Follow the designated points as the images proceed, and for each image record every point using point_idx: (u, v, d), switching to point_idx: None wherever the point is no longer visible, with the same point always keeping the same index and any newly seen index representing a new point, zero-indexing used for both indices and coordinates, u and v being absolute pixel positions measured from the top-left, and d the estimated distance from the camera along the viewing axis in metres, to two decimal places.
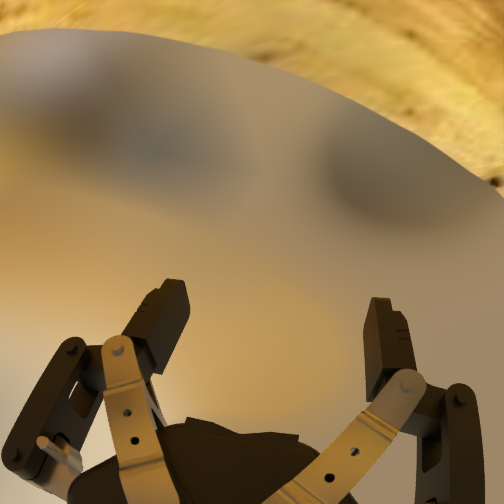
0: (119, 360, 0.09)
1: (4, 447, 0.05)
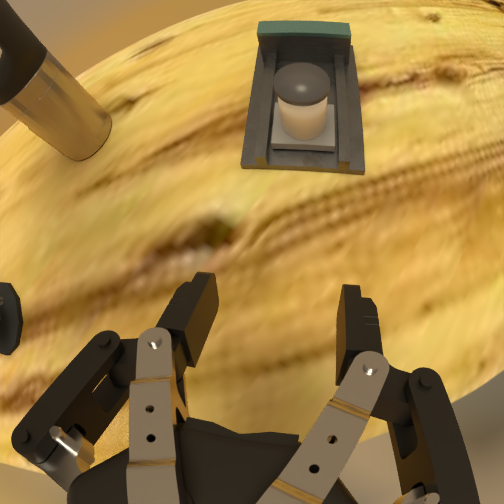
0: (154, 354, 0.09)
1: (16, 428, 0.06)
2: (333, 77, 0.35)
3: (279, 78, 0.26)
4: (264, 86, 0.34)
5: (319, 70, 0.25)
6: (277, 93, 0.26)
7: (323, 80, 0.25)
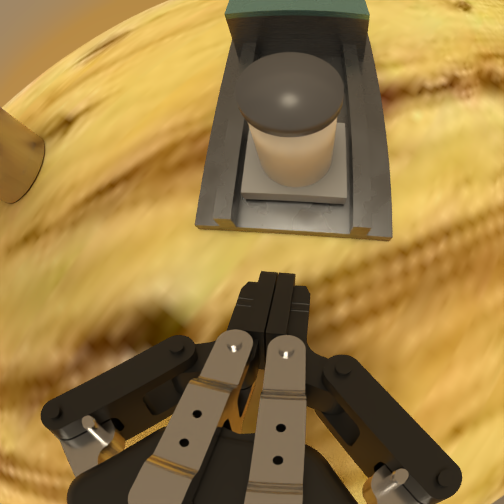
0: (228, 357, 0.09)
1: (51, 401, 0.07)
2: (342, 78, 0.23)
3: (247, 82, 0.14)
4: (234, 94, 0.22)
5: (323, 65, 0.13)
6: (242, 112, 0.14)
7: (331, 84, 0.13)
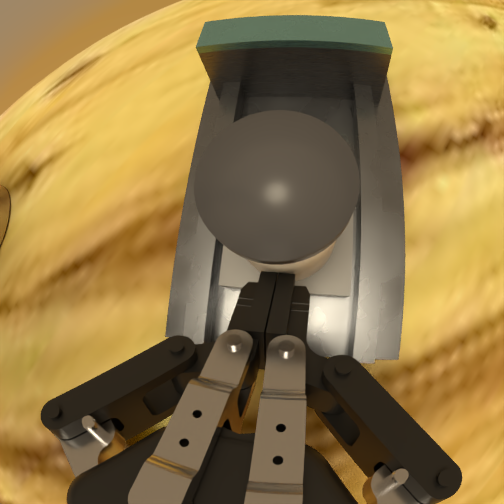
0: (228, 357, 0.09)
1: (51, 401, 0.07)
2: (351, 132, 0.19)
3: (212, 168, 0.10)
4: None
5: (329, 137, 0.10)
6: None
7: (340, 175, 0.09)
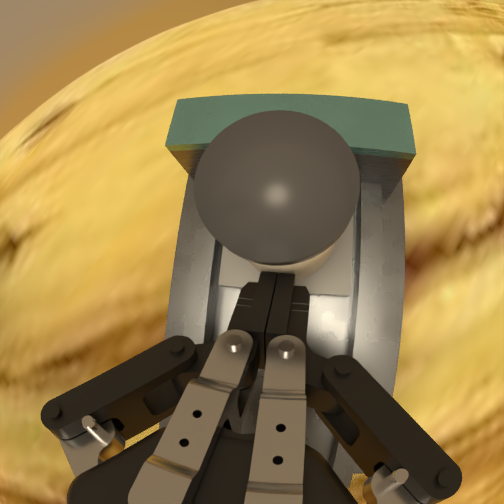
0: (228, 358, 0.09)
1: (51, 401, 0.07)
2: (353, 243, 0.17)
3: (212, 168, 0.10)
4: (190, 292, 0.16)
5: (329, 137, 0.10)
6: None
7: (340, 176, 0.09)
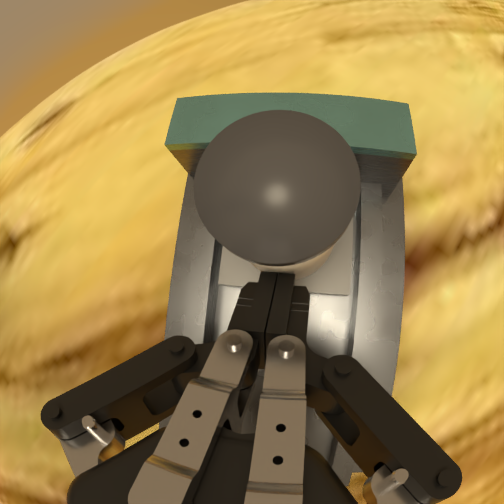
0: (228, 357, 0.09)
1: (51, 401, 0.07)
2: None
3: (212, 169, 0.10)
4: (189, 292, 0.16)
5: (330, 137, 0.09)
6: None
7: (341, 176, 0.09)
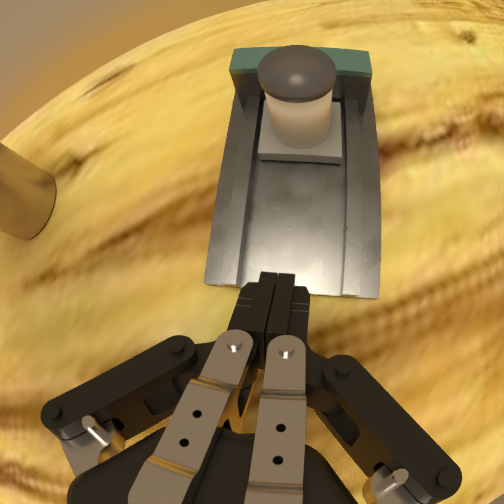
0: (228, 357, 0.09)
1: (51, 401, 0.07)
2: (342, 135, 0.26)
3: (266, 65, 0.18)
4: (239, 156, 0.25)
5: (321, 54, 0.18)
6: (262, 85, 0.18)
7: (327, 67, 0.18)
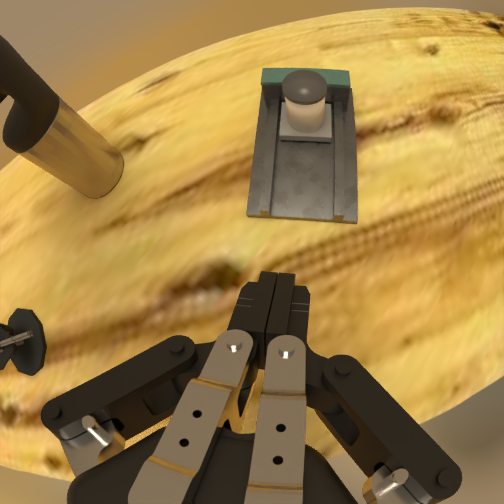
0: (228, 357, 0.09)
1: (51, 401, 0.07)
2: (332, 125, 0.40)
3: (286, 82, 0.33)
4: (267, 137, 0.39)
5: (318, 76, 0.32)
6: (285, 94, 0.33)
7: (321, 84, 0.32)
